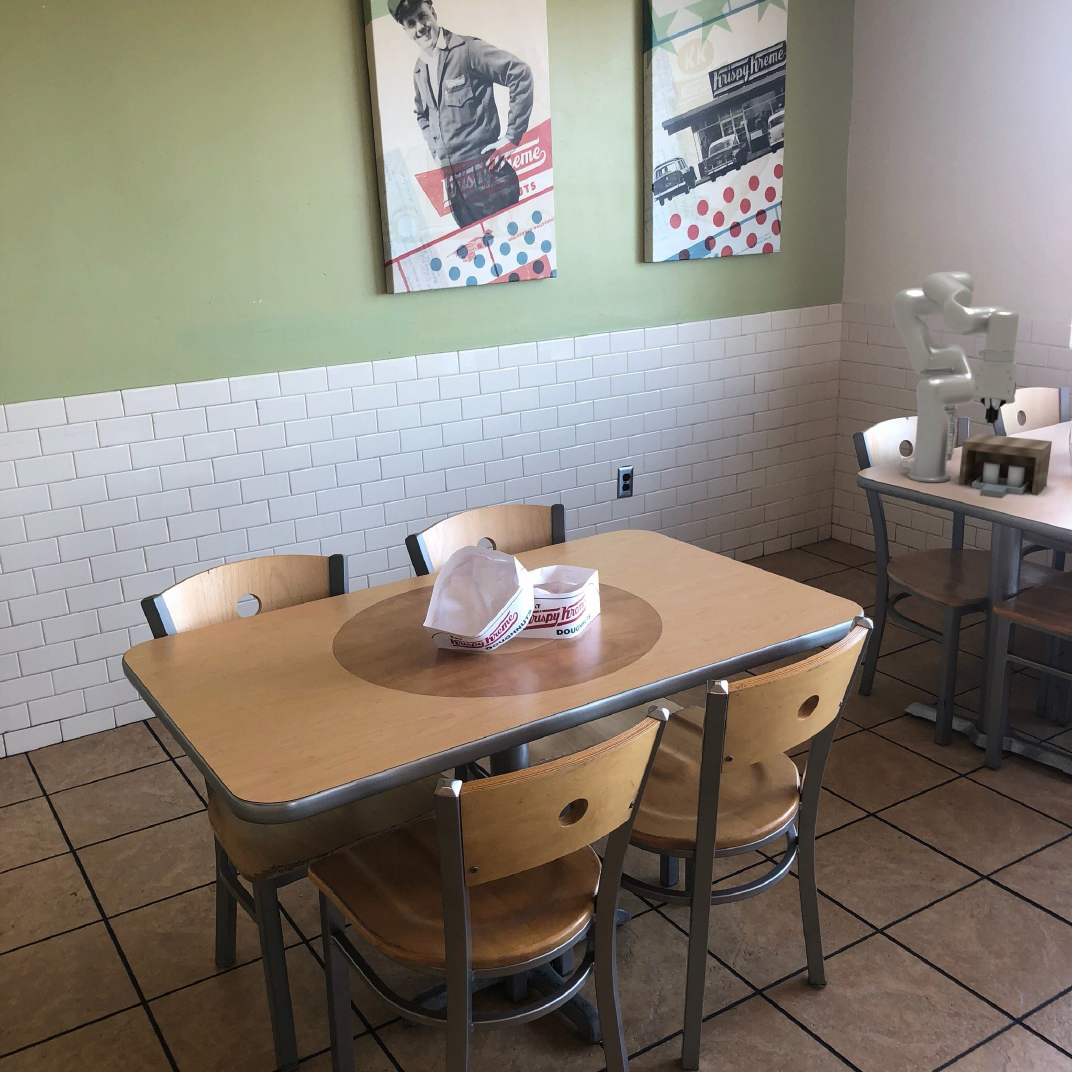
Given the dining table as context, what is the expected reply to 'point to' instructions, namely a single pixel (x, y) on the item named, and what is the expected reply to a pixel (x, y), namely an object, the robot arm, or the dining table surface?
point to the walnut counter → (1006, 457)
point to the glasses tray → (1001, 481)
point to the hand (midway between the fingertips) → (991, 422)
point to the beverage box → (951, 428)
